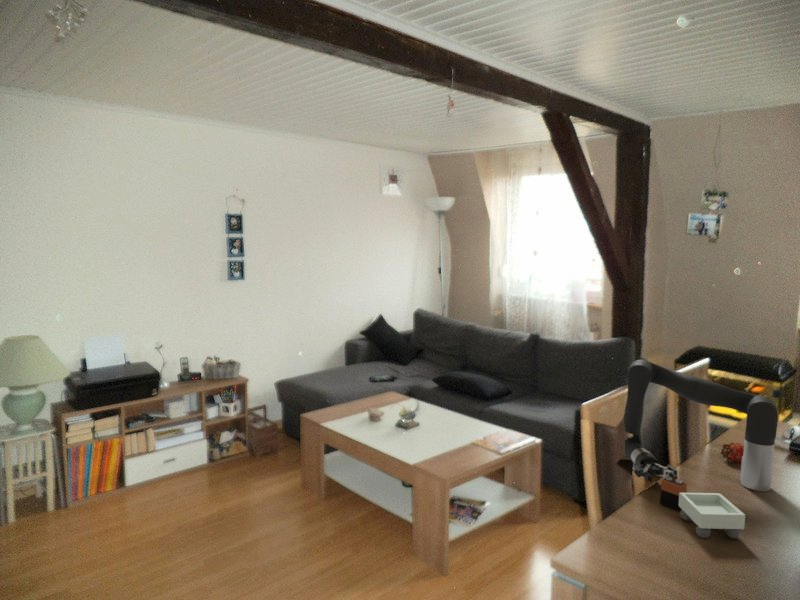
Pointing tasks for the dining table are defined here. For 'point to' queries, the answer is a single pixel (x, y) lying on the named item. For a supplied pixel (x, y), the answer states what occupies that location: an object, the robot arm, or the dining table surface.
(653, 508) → the dining table surface
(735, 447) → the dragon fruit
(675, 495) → the battery
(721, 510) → the cart
